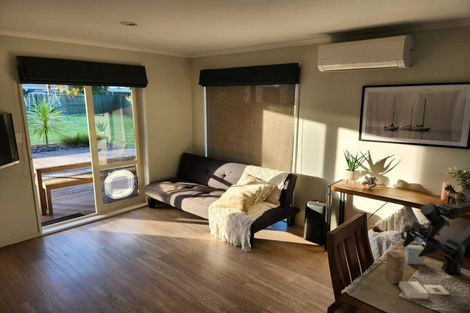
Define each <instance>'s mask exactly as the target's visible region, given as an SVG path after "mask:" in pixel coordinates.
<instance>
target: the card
mask: <svg viewBox="0 0 470 313" xmlns="http://www.w3.org/2000/svg"><path fill="white" fill-rule="evenodd" d="M422 285H423V286H424V287H425V288H424V287H423V286H422V287H423V288H424V289H425V290H426V291H427V292H428V294H430V295H450V292H449V291H448V290H446V289H445V288H444V286H442V284H422Z"/></svg>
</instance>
